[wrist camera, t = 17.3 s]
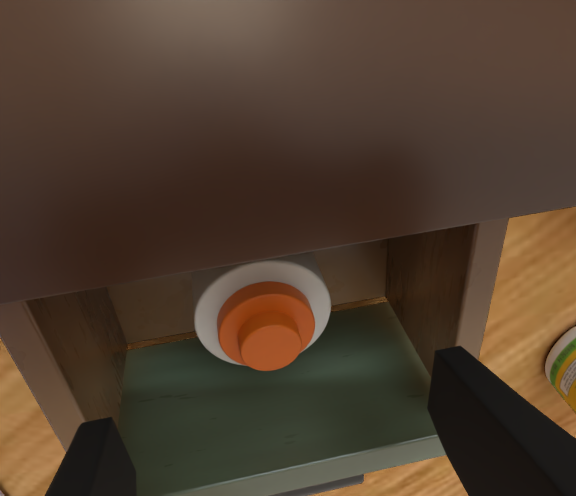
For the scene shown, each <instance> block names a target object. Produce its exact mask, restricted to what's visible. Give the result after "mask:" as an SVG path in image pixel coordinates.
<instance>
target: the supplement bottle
mask: <svg viewBox="0 0 576 496" xmlns="http://www.w3.org/2000/svg"><path fill="white" fill-rule="evenodd" d="M545 373H546V376H547V378H548V380H549V381H550V383H551V384H552V385H553V386H554V388H555V389H556V390H557V392H558V393H559V394H560V395H561V397H562V398H563V399H564V400H565V401H566V402H567V404H568V405H569V406H570V407H571V408H572V410H573V411H574V412H575V413H576V326H575V327H573V328H572V329H570V330H569V331H567V332H566V333H565V334H564V335H563V336H562V337H561V338H560V339H559V340H558V341H557V342H556V343H555V345H554V346H553V348H552V349H551V351H550V353H549V355H548V357H547V360H546V363H545Z"/></svg>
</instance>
